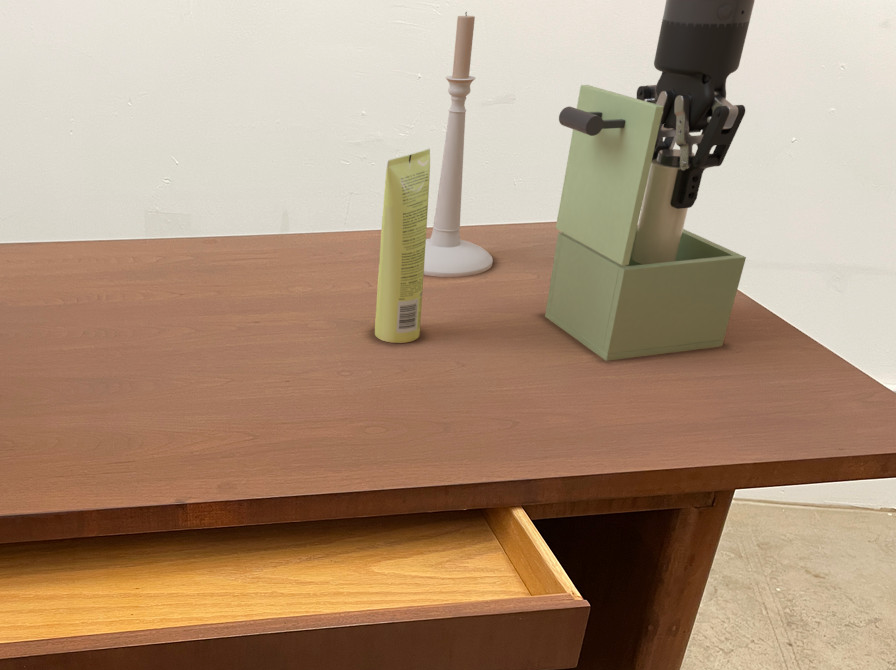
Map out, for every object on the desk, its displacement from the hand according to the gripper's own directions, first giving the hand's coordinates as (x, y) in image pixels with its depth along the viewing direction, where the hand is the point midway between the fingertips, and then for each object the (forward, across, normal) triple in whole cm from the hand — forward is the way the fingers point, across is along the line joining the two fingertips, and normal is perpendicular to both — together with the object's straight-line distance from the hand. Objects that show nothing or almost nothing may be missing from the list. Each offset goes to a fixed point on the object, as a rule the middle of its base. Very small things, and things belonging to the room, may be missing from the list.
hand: (666, 200), depth 95 cm
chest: (+14, 0, +1) cm, 15 cm away
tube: (+15, +6, +26) cm, 30 cm away
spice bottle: (+6, 0, 0) cm, 6 cm away
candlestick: (+15, +28, +11) cm, 33 cm away
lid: (-3, 0, +7) cm, 8 cm away
